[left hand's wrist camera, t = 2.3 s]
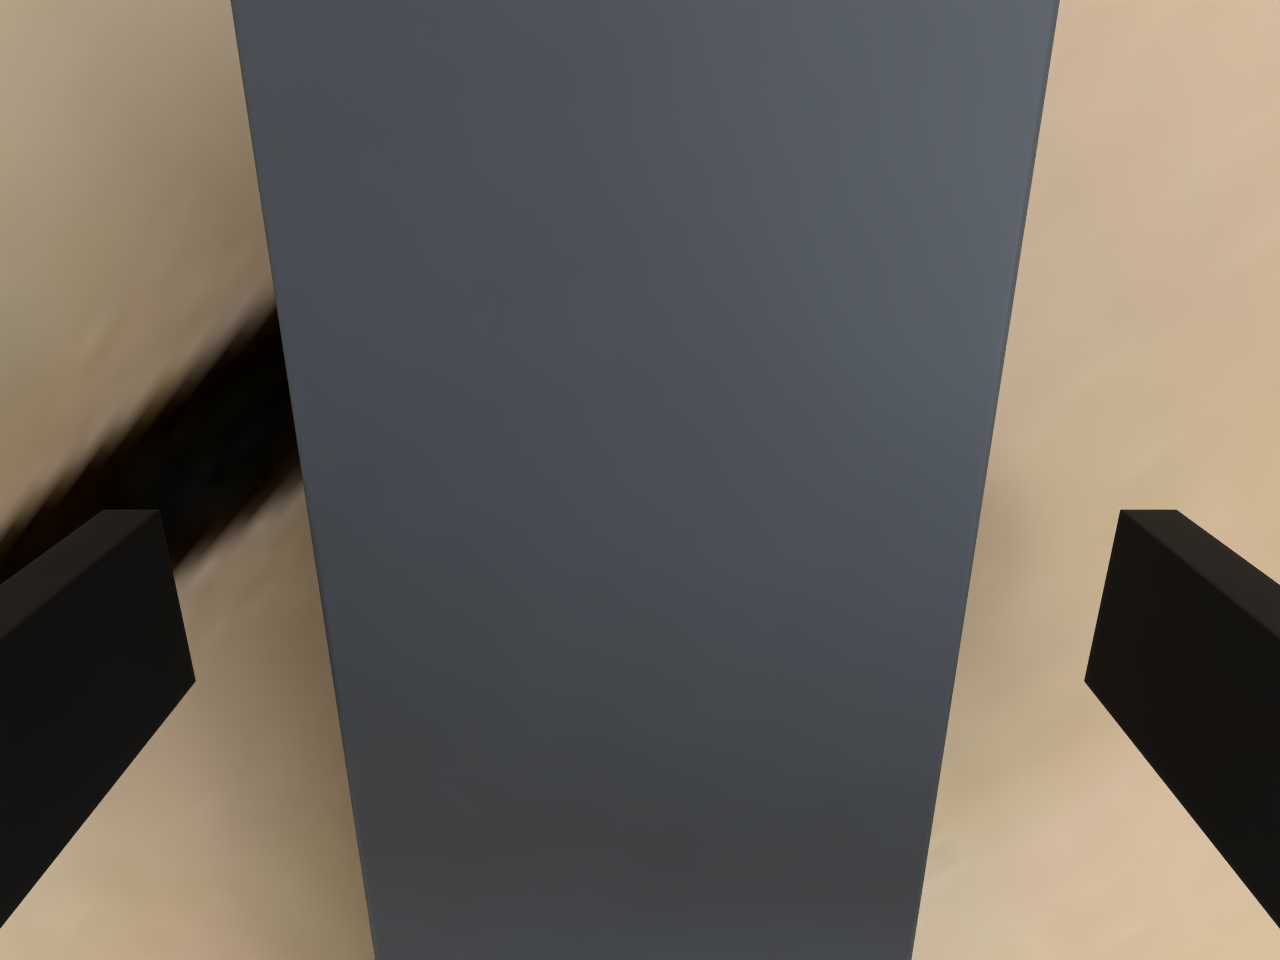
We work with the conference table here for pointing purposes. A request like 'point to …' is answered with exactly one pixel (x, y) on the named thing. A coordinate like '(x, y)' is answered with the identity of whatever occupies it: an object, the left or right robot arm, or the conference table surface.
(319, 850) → the conference table surface
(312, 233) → the beam
